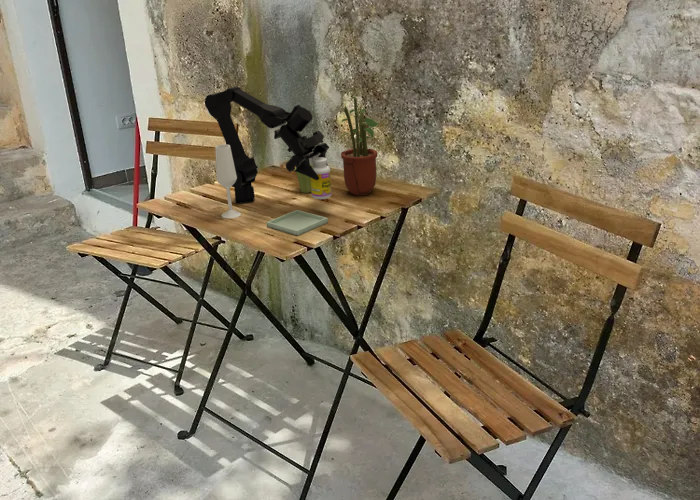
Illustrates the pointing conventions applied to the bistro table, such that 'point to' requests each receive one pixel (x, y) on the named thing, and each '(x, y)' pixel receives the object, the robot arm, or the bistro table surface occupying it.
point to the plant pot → (304, 182)
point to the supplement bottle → (321, 179)
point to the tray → (297, 222)
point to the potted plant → (359, 156)
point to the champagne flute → (226, 175)
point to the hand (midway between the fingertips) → (324, 176)
